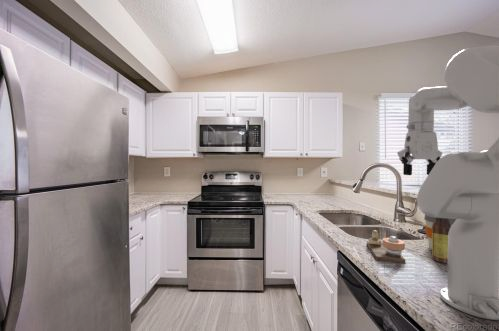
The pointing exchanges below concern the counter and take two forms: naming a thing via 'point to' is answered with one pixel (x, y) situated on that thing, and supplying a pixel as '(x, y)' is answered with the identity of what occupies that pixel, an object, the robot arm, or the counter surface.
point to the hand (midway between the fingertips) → (419, 175)
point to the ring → (393, 244)
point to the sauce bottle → (440, 239)
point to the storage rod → (393, 252)
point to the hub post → (375, 239)
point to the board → (384, 254)
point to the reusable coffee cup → (428, 227)
